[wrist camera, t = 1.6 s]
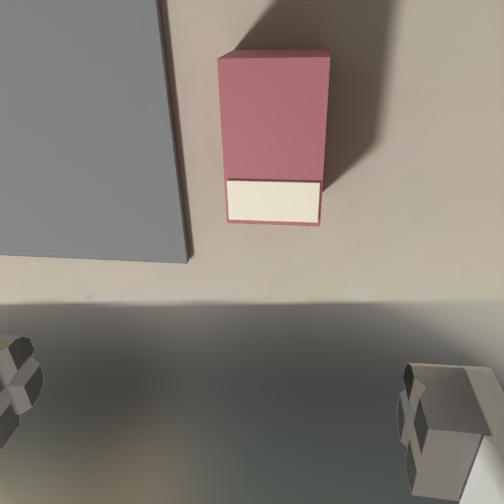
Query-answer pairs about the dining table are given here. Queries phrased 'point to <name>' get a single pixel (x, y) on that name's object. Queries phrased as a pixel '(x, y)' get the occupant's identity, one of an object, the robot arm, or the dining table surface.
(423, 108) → the dining table surface
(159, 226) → the gray mat
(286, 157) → the card box
